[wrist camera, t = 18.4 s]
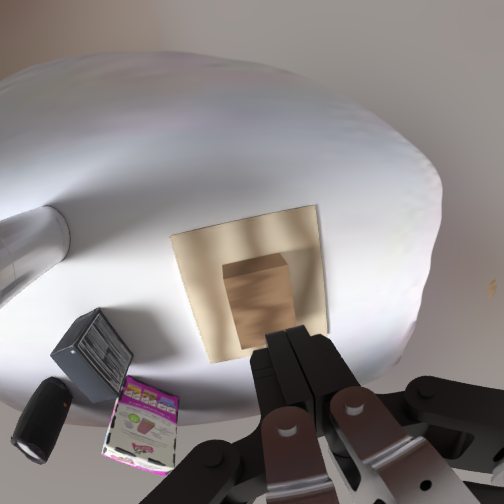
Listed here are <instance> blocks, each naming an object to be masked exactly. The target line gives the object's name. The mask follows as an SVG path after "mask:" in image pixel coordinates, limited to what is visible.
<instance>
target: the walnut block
mask: <svg viewBox="0 0 504 504" xmlns="http://www.w3.org/2000/svg"><path fill="white" fill-rule="evenodd" d="M222 272H223V281H224V285H225V289H226V293H227V297H228V301H229V305H230V309H231V312H232V316H233V320H234V324H235V327H236V331H237V335H238V338H239V342H240V346H241V349H242V350H244V349H248V348H253V347H257V346H262V345H266V342H265V337H264V334H267V333H272V332H276V331H280V330H285V329H288V328H292V327H296V318H295V311H294V303H293V296H292V289H291V282H290V275H289V269H288V264H287V263H286V261H285V260H284V259H283V257H282V256H281V254H280V253H279V252H278V253H274V254H269V255H265V256H260V257H256V258H251V259H247V260H242V261H238V262H233V263H229V264H224V265H222Z"/></svg>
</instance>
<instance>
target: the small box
mask: <svg viewBox="0 0 504 504" xmlns="http://www.w3.org/2000/svg"><path fill="white" fill-rule="evenodd" d="M50 356H51V357H52V359H53V360H54V361H55V362H56V363H57V365H58V366H59V367H60V368H61V369H62V370H63V372H64V373H65V374H66V375H67V376H68V377H69V378H70V380H71V381H72V382H73V383H74V384H75V385H76V386H77V387H78V388H79V389H80V390H81V391H82V392H83V393H84V394H85V395H86V396H87V397H88V398H89V399H90V400H91V401H92V403H99V402H103V401H108V400H112V399H116V398H119V396H120V392H121V388H122V385H123V382H124V380H125V377H126V374H127V371H128V368H129V366H130V363H131V360H132V358H133V356H134V355H133V354H132V352H131V351H130V350H129V349H128V347H127V346H126V345H125V344H124V342H123V341H122V340H121V338H120V337H119V336H118V334H117V333H116V332H115V330H114V329H113V328H112V326H111V325H110V323H109V322H108V321H107V319H106V318H105V316H104V315H103V314H102V312H101V311H100V309H99V308H96V309H94V310H93V311H91V312H89V313H87V314H85V315H83V316H80V317H79V318H77V319H76V320H75V321H74V323H73V324H72V325H71V327H70V328H69V329H68V331H67V332H66V333H65V335H64V336H63V338H62V339H61V340H60V341H59V343H58V344H57V346H56V347H55V349H54V350H53V352H52V353H51V354H50Z"/></svg>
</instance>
